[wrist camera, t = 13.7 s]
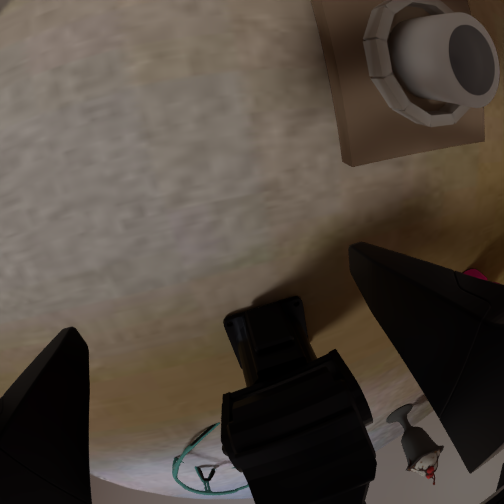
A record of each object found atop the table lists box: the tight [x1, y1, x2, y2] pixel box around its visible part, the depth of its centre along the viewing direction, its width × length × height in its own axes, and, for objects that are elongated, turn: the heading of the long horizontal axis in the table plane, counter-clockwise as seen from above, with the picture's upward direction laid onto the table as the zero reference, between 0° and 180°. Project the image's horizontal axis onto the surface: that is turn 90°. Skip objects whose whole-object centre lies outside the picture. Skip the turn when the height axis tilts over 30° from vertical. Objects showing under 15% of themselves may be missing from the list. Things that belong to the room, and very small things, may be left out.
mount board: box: [311, 0, 485, 167], centre depth 16 cm, size 14×14×3 cm
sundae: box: [387, 404, 444, 485], centre depth 36 cm, size 7×7×15 cm
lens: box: [388, 12, 500, 108], centre depth 14 cm, size 6×6×5 cm
